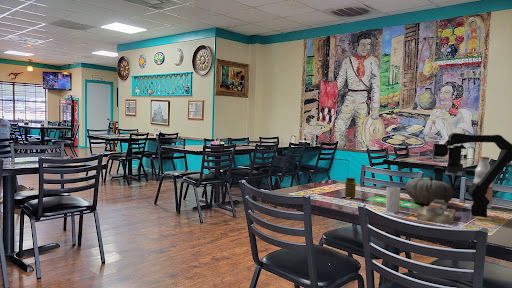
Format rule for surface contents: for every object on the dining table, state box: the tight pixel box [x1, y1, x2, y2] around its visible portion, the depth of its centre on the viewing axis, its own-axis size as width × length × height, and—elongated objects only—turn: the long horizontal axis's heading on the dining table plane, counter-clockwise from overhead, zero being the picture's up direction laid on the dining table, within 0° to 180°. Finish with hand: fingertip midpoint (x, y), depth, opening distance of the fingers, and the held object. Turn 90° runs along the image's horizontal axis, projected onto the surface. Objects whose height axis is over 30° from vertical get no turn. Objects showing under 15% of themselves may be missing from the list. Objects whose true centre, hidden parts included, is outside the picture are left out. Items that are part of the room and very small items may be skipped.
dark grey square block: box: [433, 199, 445, 205], centre depth 183 cm, size 4×4×3 cm
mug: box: [385, 186, 401, 213], centre depth 189 cm, size 10×7×12 cm, turn 145°
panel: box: [416, 202, 456, 225], centre depth 178 cm, size 14×20×6 cm
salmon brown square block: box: [429, 203, 441, 209], centre depth 173 cm, size 4×4×3 cm
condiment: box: [344, 177, 357, 198], centre depth 223 cm, size 7×8×12 cm
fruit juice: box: [471, 156, 494, 209], centre depth 205 cm, size 9×9×28 cm
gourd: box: [405, 174, 454, 206], centre depth 212 cm, size 25×25×17 cm
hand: (453, 187), depth 188 cm, fingers closed
